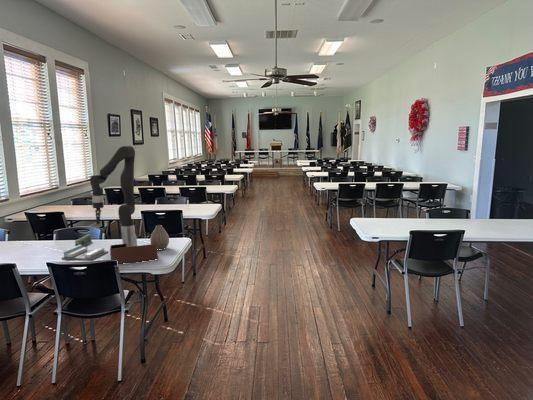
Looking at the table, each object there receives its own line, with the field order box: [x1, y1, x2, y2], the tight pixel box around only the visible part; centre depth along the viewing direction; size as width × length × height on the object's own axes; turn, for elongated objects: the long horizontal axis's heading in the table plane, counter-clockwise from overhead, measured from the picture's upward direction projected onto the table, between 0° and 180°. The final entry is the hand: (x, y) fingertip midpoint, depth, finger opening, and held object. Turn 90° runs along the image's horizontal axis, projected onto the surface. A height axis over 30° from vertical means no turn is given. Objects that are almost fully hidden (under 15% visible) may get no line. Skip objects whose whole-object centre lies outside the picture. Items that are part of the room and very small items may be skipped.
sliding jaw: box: [63, 245, 88, 257], centre depth 250 cm, size 6×16×4 cm, turn 171°
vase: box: [149, 224, 170, 251], centre depth 261 cm, size 13×13×18 cm
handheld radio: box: [74, 233, 93, 248], centre depth 273 cm, size 7×3×25 cm
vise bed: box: [61, 247, 109, 261], centre depth 249 cm, size 22×18×3 cm
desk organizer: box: [109, 243, 159, 265], centre depth 236 cm, size 10×29×11 cm, turn 110°
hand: (98, 222), depth 268 cm, fingers open, 8 cm apart
